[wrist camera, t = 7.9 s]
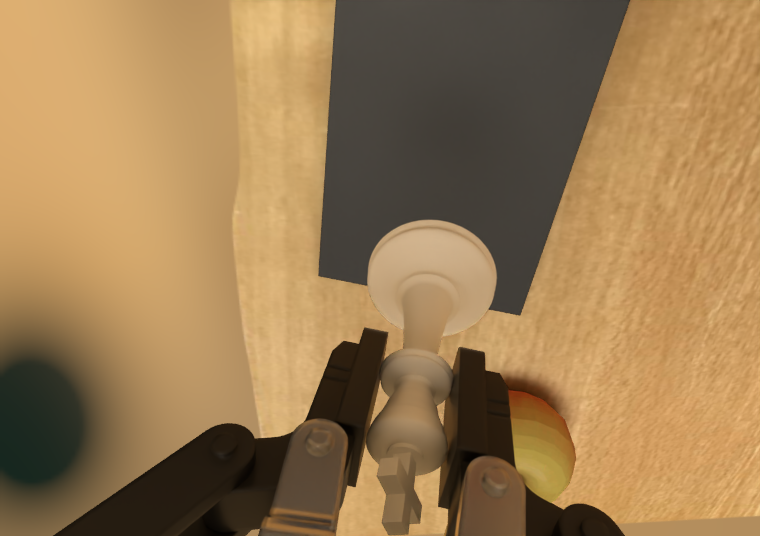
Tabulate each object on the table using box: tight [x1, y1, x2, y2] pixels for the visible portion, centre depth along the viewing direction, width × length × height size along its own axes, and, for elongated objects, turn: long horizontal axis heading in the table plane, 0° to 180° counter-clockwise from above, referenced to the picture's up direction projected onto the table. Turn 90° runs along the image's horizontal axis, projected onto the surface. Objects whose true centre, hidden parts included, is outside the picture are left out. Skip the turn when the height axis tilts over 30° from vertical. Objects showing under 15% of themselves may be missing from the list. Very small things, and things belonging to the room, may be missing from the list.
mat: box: [318, 0, 630, 315], centre depth 31 cm, size 22×16×1 cm
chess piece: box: [366, 220, 497, 535], centre depth 14 cm, size 5×5×10 cm
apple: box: [508, 390, 576, 503], centre depth 39 cm, size 10×10×8 cm
